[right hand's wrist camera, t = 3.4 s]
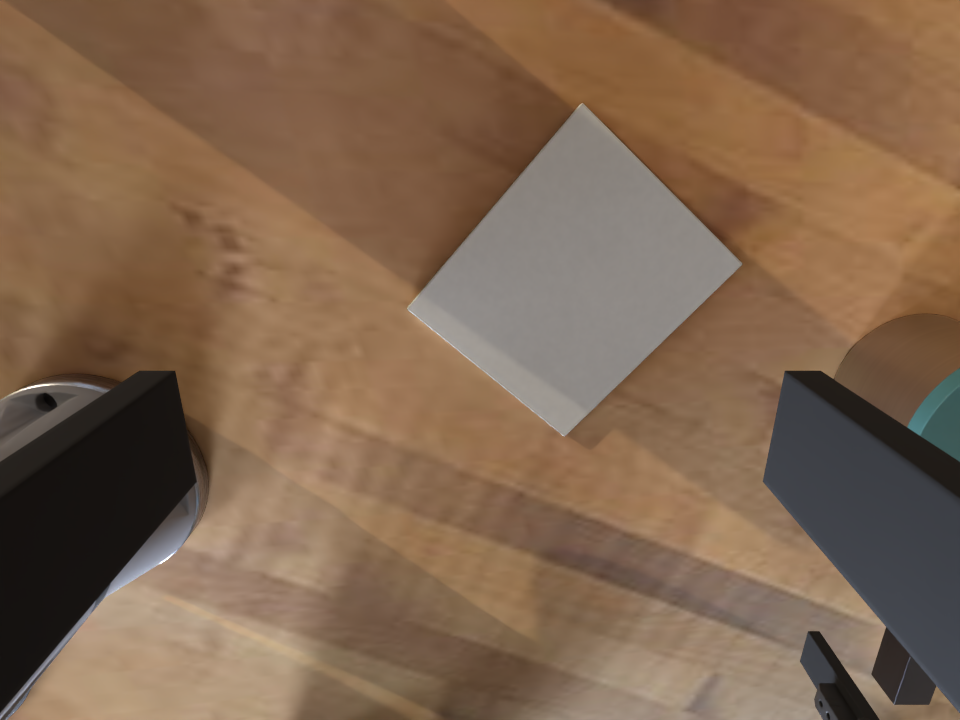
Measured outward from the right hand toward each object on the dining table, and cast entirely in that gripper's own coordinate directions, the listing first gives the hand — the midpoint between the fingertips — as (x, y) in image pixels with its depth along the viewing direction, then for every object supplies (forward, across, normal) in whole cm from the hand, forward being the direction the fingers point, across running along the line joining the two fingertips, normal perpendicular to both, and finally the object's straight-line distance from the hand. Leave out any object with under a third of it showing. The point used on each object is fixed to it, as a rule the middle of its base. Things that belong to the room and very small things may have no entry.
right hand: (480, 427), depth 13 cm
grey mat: (+25, -6, +2) cm, 25 cm away
